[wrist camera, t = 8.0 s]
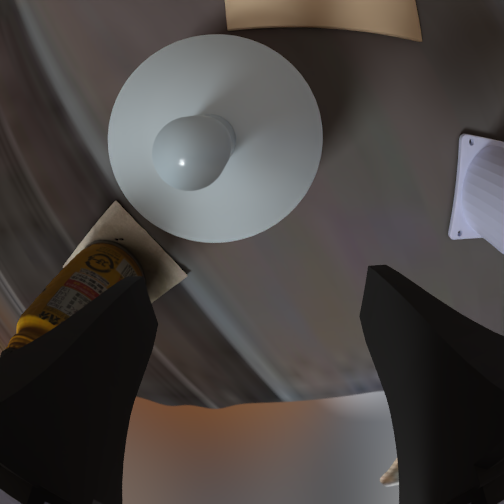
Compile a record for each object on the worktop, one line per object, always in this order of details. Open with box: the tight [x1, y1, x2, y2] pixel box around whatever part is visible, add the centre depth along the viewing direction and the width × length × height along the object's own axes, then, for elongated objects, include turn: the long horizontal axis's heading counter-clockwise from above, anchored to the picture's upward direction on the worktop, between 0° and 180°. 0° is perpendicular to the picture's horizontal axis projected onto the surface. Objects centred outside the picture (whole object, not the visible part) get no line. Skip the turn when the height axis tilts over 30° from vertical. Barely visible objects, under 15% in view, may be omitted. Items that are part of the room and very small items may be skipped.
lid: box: [108, 34, 323, 243], centre depth 11 cm, size 10×10×5 cm
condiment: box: [0, 201, 187, 358], centre depth 15 cm, size 7×8×12 cm
